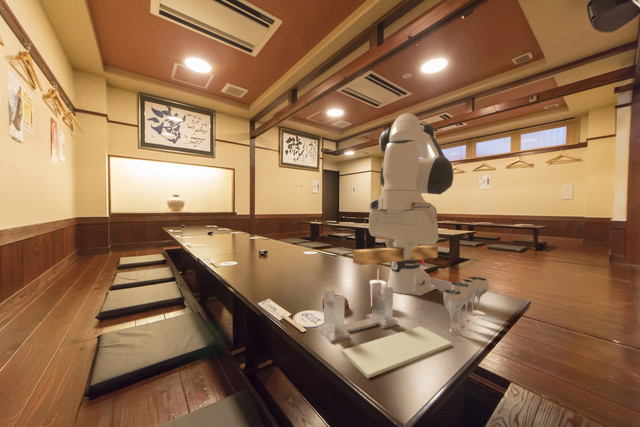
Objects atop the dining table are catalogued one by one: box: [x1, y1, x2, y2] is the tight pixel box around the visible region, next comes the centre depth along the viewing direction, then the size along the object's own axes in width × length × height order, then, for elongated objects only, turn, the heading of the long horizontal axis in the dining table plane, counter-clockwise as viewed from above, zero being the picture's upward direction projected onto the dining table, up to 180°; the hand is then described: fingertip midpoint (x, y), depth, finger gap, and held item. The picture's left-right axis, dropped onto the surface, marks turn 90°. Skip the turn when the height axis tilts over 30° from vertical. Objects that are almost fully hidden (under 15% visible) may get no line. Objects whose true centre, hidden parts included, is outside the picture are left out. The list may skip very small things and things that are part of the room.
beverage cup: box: [369, 268, 387, 307], centre depth 89 cm, size 6×6×14 cm
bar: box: [352, 244, 439, 266], centre depth 62 cm, size 26×3×3 cm, turn 117°
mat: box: [341, 326, 453, 379], centre depth 62 cm, size 28×10×1 cm, turn 118°
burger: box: [321, 294, 350, 315], centre depth 86 cm, size 10×9×5 cm
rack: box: [317, 282, 399, 344], centre depth 73 cm, size 24×8×12 cm, turn 118°
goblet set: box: [442, 276, 490, 337], centre depth 79 cm, size 28×6×13 cm, turn 130°
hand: (398, 257), depth 62 cm, fingers closed on bar, 3 cm apart
